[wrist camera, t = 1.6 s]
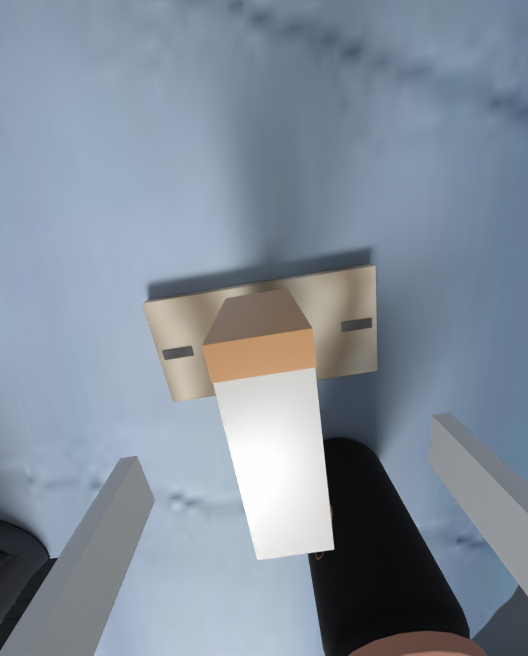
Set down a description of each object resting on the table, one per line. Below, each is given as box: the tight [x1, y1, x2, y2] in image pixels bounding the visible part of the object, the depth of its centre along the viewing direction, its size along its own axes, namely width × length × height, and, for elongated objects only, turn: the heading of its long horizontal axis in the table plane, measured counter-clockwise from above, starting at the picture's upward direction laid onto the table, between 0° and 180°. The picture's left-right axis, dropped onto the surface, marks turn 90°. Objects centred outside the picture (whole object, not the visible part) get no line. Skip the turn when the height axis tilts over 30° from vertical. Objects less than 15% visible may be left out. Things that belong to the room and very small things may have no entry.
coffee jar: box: [308, 438, 487, 656], centre depth 25 cm, size 11×11×18 cm
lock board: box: [142, 264, 378, 402], centre depth 25 cm, size 22×11×6 cm, turn 99°
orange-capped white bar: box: [202, 288, 334, 560], centre depth 17 cm, size 4×12×11 cm, turn 9°
